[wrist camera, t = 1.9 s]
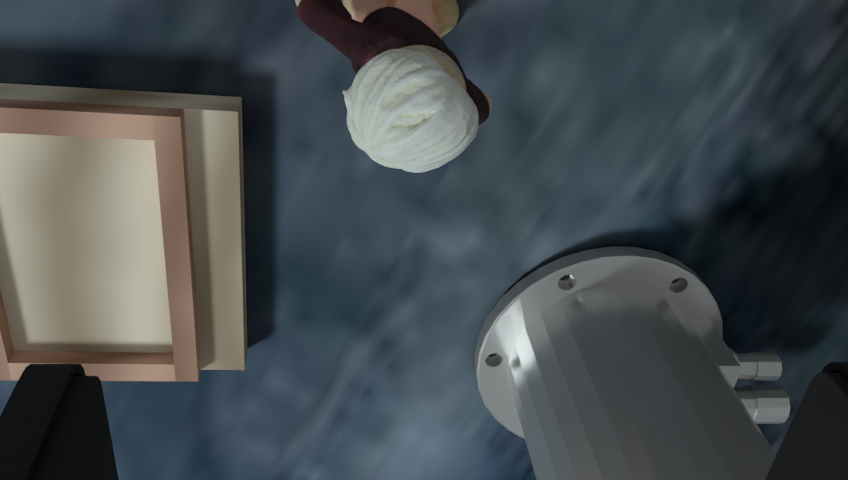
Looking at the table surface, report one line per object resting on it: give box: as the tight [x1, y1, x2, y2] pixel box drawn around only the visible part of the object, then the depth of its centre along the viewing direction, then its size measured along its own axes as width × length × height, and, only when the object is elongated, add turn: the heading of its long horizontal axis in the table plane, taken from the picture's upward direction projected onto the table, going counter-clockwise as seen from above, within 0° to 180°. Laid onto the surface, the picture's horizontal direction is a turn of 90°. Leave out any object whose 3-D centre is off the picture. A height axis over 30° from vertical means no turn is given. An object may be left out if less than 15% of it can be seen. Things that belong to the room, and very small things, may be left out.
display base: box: [0, 83, 247, 381], centre depth 32 cm, size 13×13×2 cm
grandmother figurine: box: [295, 0, 492, 173], centre depth 24 cm, size 8×4×13 cm, turn 64°
